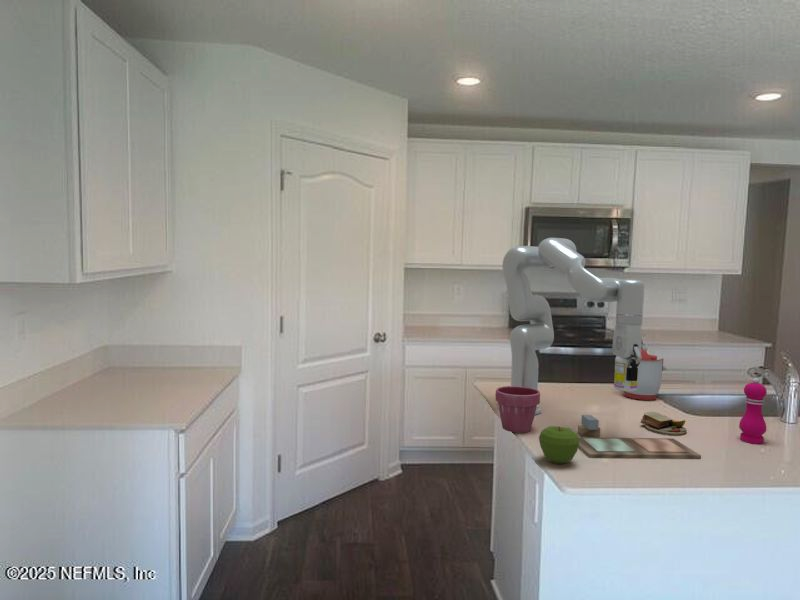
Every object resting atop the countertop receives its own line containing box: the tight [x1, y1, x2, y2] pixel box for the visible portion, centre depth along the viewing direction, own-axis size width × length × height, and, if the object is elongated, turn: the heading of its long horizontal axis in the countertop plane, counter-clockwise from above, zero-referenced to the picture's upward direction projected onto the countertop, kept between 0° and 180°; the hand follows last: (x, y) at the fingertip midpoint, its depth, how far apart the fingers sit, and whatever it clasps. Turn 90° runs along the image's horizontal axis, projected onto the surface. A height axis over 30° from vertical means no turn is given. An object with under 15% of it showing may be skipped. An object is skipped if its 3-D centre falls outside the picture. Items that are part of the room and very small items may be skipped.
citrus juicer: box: [623, 348, 667, 401], centre depth 230 cm, size 16×17×20 cm
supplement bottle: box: [613, 356, 638, 392], centre depth 172 cm, size 7×7×13 cm
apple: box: [538, 425, 580, 465], centre depth 153 cm, size 11×10×10 cm
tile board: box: [578, 436, 702, 460], centre depth 166 cm, size 32×15×1 cm, turn 92°
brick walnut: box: [577, 424, 601, 438], centre depth 178 cm, size 6×3×3 cm, turn 94°
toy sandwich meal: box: [640, 411, 688, 436], centre depth 186 cm, size 12×14×5 cm
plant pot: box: [495, 385, 541, 434], centre depth 183 cm, size 14×14×13 cm
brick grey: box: [580, 414, 600, 430], centre depth 178 cm, size 6×3×3 cm, turn 4°
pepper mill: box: [738, 377, 768, 445], centre depth 176 cm, size 7×7×20 cm
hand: (625, 377), depth 173 cm, fingers closed on supplement bottle, 6 cm apart
